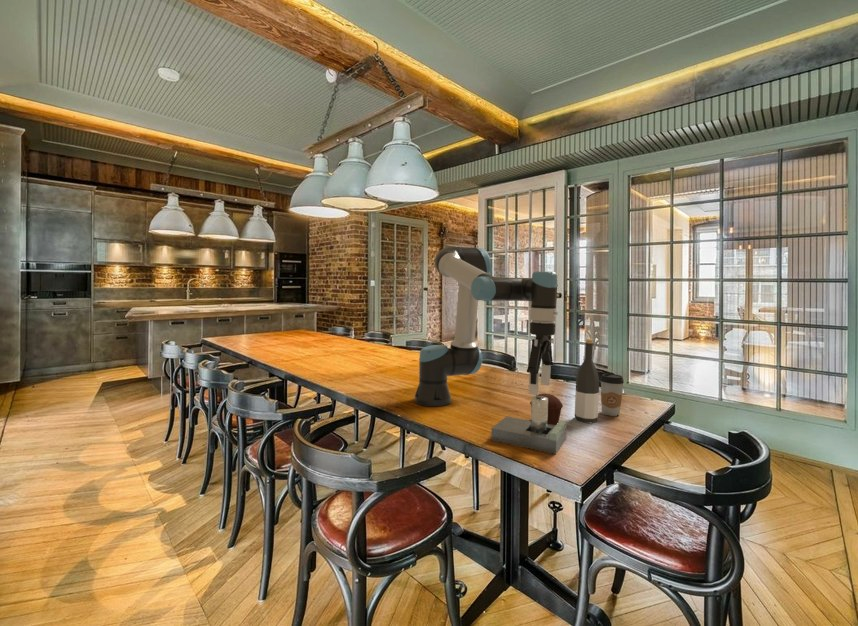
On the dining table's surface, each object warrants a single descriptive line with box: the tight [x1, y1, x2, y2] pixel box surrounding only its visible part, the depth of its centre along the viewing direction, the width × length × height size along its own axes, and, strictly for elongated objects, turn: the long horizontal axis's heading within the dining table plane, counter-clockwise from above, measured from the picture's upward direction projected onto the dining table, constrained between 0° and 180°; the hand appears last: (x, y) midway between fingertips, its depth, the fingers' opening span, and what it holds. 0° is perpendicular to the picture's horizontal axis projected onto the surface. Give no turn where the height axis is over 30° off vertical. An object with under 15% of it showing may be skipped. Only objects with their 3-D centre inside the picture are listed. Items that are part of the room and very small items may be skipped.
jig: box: [490, 416, 568, 455], centre depth 130 cm, size 20×14×6 cm
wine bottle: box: [574, 338, 600, 424], centre depth 151 cm, size 8×8×30 cm
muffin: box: [529, 392, 564, 425], centre depth 148 cm, size 12×11×10 cm
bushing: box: [530, 395, 548, 435], centre depth 129 cm, size 5×5×14 cm
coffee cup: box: [599, 373, 625, 417], centre depth 160 cm, size 8×8×15 cm
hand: (539, 389), depth 128 cm, fingers open, 13 cm apart
